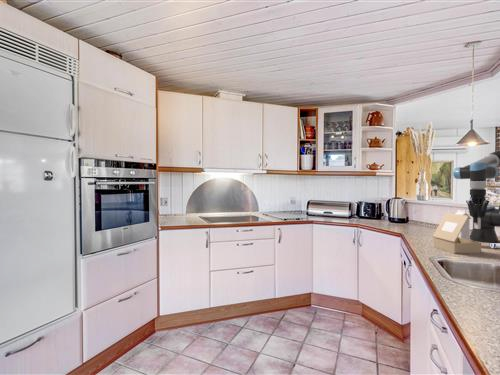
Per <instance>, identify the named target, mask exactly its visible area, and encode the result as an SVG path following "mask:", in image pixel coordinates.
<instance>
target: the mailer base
mask: <svg viewBox="0 0 500 375" xmlns="http://www.w3.org/2000/svg"><path fill="white" fill-rule="evenodd" d="M455 242H456V243H453V242H449V241H446V240H442V239H438V238H435V237H433V248H436V249H438V250H441V251H444V252H447V253H449V254H450V253H451V254H453V255H457V254H459V255H460V254H462V255H463V254H482V242H480V241H474V240H470V239H469V240H467V239H463V238H459V237H457V239H456V241H455Z"/></svg>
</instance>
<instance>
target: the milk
mask: <svg viewBox="0 0 500 375" xmlns="http://www.w3.org/2000/svg"><path fill="white" fill-rule="evenodd" d="M454 214H459V215H466V216H469V217H470V218H471V216H470V214H468V213H466V210H463V209H457V210H456V212H455V213H454ZM470 220H471V219H467V221H466V223H465V225H464V226H463V228H462V230H461V232H460V234H459V236H458V237H459V238H463V239H467V240H470Z"/></svg>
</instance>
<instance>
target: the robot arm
mask: <svg viewBox="0 0 500 375" xmlns="http://www.w3.org/2000/svg"><path fill="white" fill-rule="evenodd" d="M497 167H500V149H499V150H496V151H493V152H491V153H489V154H487V155H486V154H485V156H484V157H483V158H481V159H478V160H477V161H474V162H472V163H470V164H468V165H465V166H463V167H461V166H459V167H455V168H454V169H453V171H452V176H453V177H454V179H456V180H469V188H470V189H469V196H470V197H469V199H468V200H465V203H466V204H467V209H468V213H469V216H470V217H471V218H472V229H471V232H470V234H469V240H471V241H475V242H480V243H498V242H499V238H498V235H497V233H496V228H495V227H498V228H500V205H499V206H498V208H496V207H495V206H489V203H490V200H489V199H487V198H486V197H485V196H486V195H487V189H486V188H487V180H492V179H495V178H498V176H499V174H500V171H499V169H498V168H497Z"/></svg>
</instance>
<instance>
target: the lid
mask: <svg viewBox="0 0 500 375" xmlns="http://www.w3.org/2000/svg"><path fill="white" fill-rule="evenodd" d="M469 216H470V215H469ZM469 216H466V215H459V214H455V213H451V212H445V214H444V215H443V217H442V219H441V221H440V222H439V225H438V226H437V227H436V230H434V233H433V235H432V237H433V238H438V239H442V240H446V241H449V242H453V243H456V242H455V241H456V239H457V237H458V236H459V234H460V232H461V230H462V228H463V226H464V225H465V223H466V221H467V219H470V220H471V219H472V217H471V216H470V217H469Z"/></svg>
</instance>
